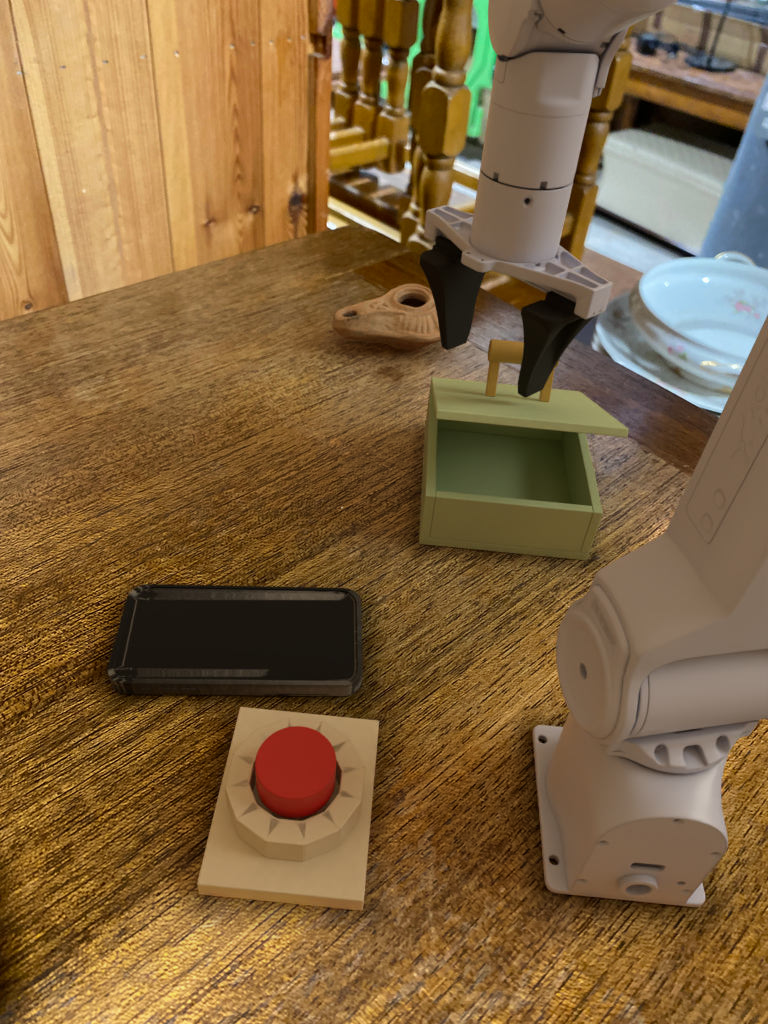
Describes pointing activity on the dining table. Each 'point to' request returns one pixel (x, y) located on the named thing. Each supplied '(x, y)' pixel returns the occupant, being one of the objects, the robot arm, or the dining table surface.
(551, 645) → the dining table surface
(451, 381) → the compartment door
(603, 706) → the robot arm
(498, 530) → the compartment
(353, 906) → the block
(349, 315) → the pottery oil lamp
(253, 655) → the phone
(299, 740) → the release button
